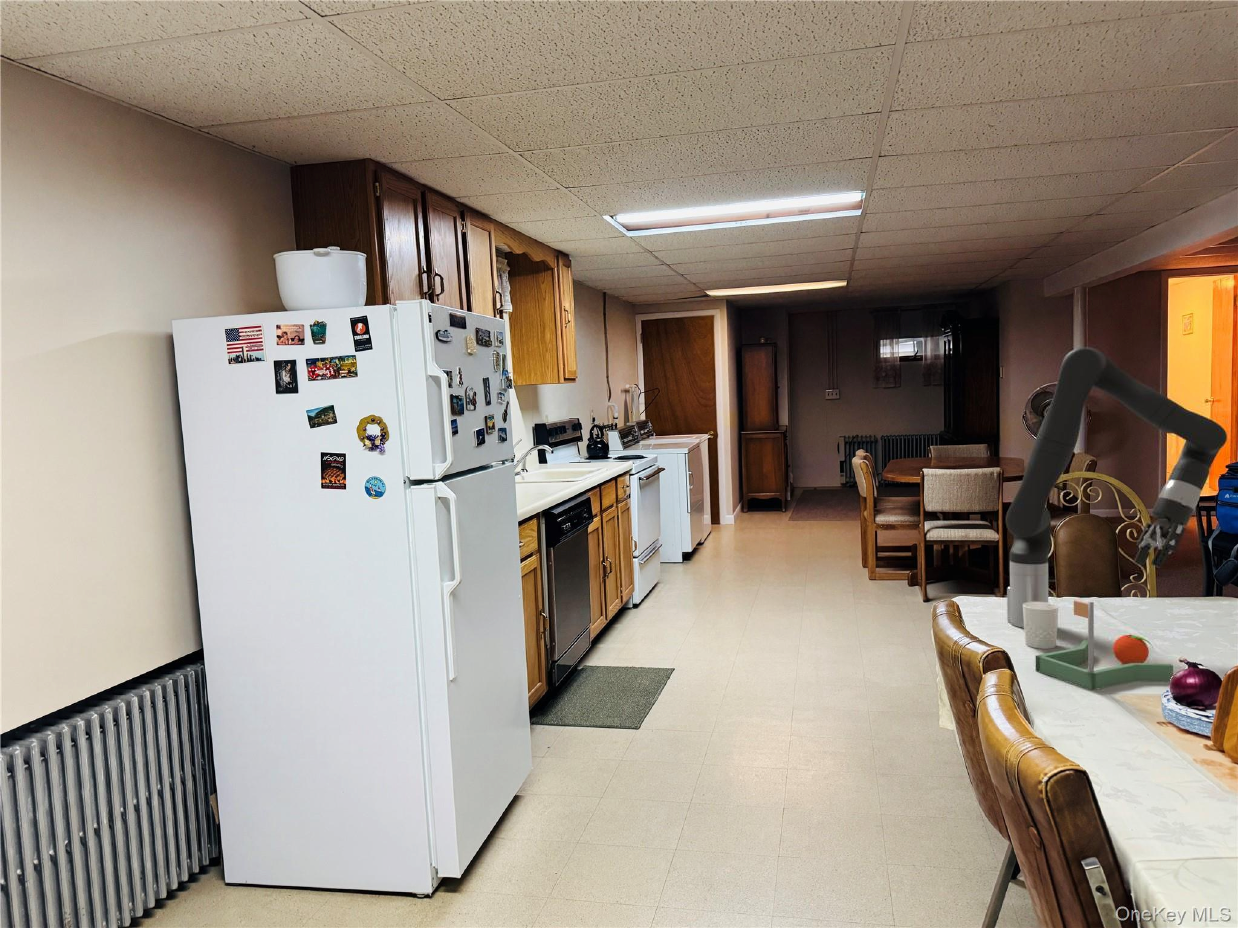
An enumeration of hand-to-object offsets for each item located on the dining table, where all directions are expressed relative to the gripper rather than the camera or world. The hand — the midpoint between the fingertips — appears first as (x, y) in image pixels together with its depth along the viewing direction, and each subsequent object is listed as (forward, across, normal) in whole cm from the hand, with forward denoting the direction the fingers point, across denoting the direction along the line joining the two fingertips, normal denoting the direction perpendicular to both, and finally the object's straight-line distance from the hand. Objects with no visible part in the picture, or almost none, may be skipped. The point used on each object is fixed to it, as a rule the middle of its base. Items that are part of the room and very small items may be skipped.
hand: (1147, 565), depth 197 cm
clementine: (+23, +7, +3) cm, 24 cm away
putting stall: (+28, +12, -5) cm, 31 cm away
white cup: (+28, -9, -10) cm, 31 cm away
